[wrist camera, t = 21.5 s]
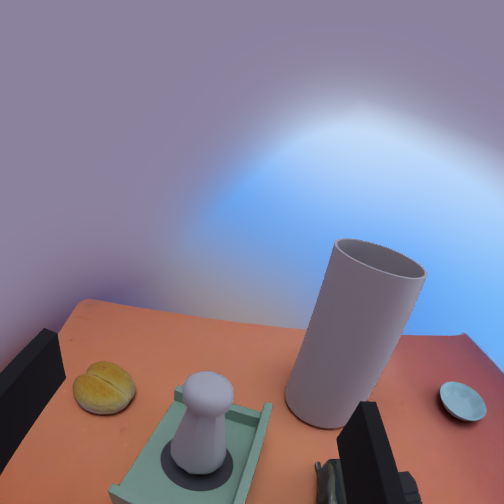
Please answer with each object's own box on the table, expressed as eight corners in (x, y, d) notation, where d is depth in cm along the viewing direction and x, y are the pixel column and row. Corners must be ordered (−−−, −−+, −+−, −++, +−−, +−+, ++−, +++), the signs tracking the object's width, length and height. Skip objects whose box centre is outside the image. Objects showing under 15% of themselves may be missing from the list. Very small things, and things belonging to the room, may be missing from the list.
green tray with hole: (114, 507, 21) (104, 482, 19) (176, 408, 38) (179, 373, 36) (223, 550, 20) (234, 535, 17) (260, 436, 36) (273, 403, 34)
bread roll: (64, 398, 33) (59, 378, 32) (101, 366, 41) (99, 346, 40) (110, 428, 31) (106, 409, 30) (145, 389, 40) (144, 370, 38)
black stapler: (368, 550, 17) (346, 444, 31) (340, 554, 17) (323, 444, 31) (346, 560, 19) (330, 463, 33) (321, 563, 18) (309, 463, 32)
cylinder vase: (363, 433, 39) (443, 286, 30) (283, 426, 39) (345, 264, 30) (351, 381, 50) (405, 251, 42) (283, 371, 50) (327, 231, 42)
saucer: (435, 383, 51) (440, 374, 51) (478, 398, 46) (483, 390, 46) (433, 419, 42) (439, 410, 41) (481, 434, 37) (488, 426, 36)
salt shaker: (194, 491, 24) (207, 421, 20) (159, 455, 27) (159, 376, 23) (233, 463, 28) (259, 388, 24) (198, 433, 32) (211, 352, 27)
